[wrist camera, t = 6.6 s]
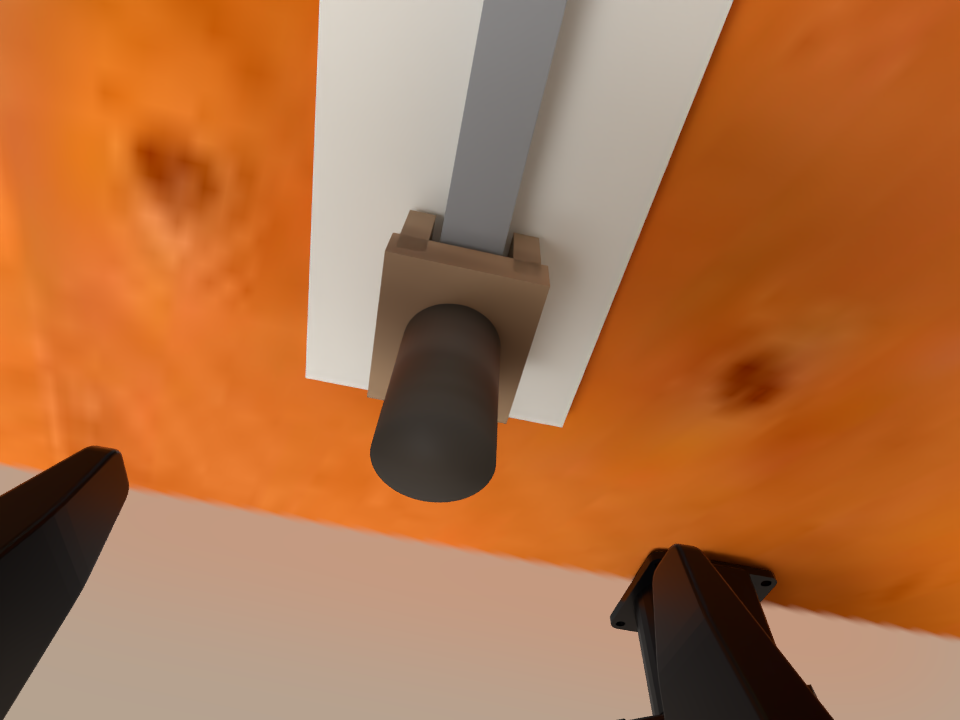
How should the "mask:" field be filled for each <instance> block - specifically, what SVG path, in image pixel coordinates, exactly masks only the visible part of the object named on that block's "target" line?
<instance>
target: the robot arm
mask: <svg viewBox="0 0 960 720" xmlns="http://www.w3.org/2000/svg"><path fill="white" fill-rule="evenodd" d="M128 490H129V482H128V478H127V474H126V470H125V466H124V462H123V457H122V454H121V453H120V452H119V451H118V450H117V449H112V448H107V447H101V446H89V447H86V448H84V449H82V450H80V451H79V452H77V453H75V454H73V455H72V456H70V457H68V458H66V459H64V460H63V461H61V462H59V463H57V464H56V465H54V466H52V467H50V468H49V469H47V470H45V471H43V472H41V473H40V474H38V475H36V476H35V477H33V478H31V479H29V480H27V481H26V482H24V483H22V484H20V485H18V486H17V487H15V488H13V489H12V490H10V491H8V492H6V493H5V494H3V495H1V496H0V720H3V719H4V717H5V716H6V714H7V712H8V711H9V709H10V708H11V706H12V704H13V703H14V701H15V700H16V698H17V696H18V695H19V693H20V691H21V690H22V688H23V687H24V685H25V683H26V681H27V680H28V678H29V677H30V675H31V673H32V672H33V670H34V668H35V667H36V665H37V663H38V662H39V660H40V659H41V657H42V656H43V654H44V652H45V651H46V649H47V647H48V646H49V644H50V643H51V641H52V639H53V637H54V636H55V634H56V633H57V631H58V629H59V628H60V626H61V625H62V623H63V621H64V620H65V618H66V616H67V615H68V613H69V612H70V610H71V608H72V606H73V605H74V603H75V601H76V600H77V598H78V596H79V595H80V593H81V591H82V590H83V588H84V586H85V584H86V582H87V580H88V578H89V576H90V574H91V572H92V569H93V567H94V565H95V563H96V561H97V559H98V557H99V555H100V552H101V551H102V548H103V546H104V544H105V542H106V540H107V538H108V536H109V533H110V532H111V530H112V527H113V525H114V523H115V521H116V519H117V517H118V515H119V513H120V511H121V508H122V506H123V504H124V502H125V500H126V498H127V495H128ZM776 584H777V580H776V578H775V576H774V573H773V572H771V571H768V570H763V569H757V568H751V567H746V566H740V565H735V564H729V563H723V562H718V561H712V560H708V558H707V557H706V556H705V555H704V553H703V552H702V551H701V550H700V549H699V548H697V547H694V546H689V545H683V544H674V545H672V546H671V547H670V548H669V550H668V551H667V552H660V551H658V552H653V553H651V554H650V555H649V556H648V557H647V559H646V561H645V562H644V564H643V565H642V567H641V568H640V570H639V572H638V573H637V575H636V576H635V578H634V579H633V581H632V583H631V584H630V586H629V587H628V589H627V590H626V592H625V594H624V595H623V597H622V598H621V600H620V602H619V603H618V604H617V606H616V608H615V609H614V611H613V613H612V614H611V616H610V620H611V625H612V627H614V628H617V629H623V630H629V631H635V632H638V635H639V641H640V646H641V652H642V657H643V663H644V669H645V675H646V680H647V686H648V692H649V697H650V703H651V708H652V714H653V716H649V717H643V718H638V719H633V720H834V719H833V718H832V717H831V715H830V714H829V713H828V712H827V710H826V709H825V708H824V706H823V705H822V704H821V703H820V701H819V700H818V698H817V696H816V694H815V692H814V690H813V688H812V686H811V685H806V683H805V682H804V681H803V680H802V678H801V677H800V676H799V675H798V673H797V672H796V671H795V669H794V668H793V667H792V666H791V664H790V663H789V662H788V660H787V659H786V658H785V657H784V655H783V654H782V653H781V652H780V650H779V649H778V648H777V646H776V644H775V642H774V639H773V636H772V633H771V631H770V628H769V625H768V623H767V620H766V617H765V615H764V612H763V609H762V606H761V604H760V602H761V601H762V600H763V599H764V598H765V597H766V595H767V594H768V593H769V592H770V591H771V590H772V589H773V588H774V587H775V585H776ZM619 720H625V719H619Z"/></svg>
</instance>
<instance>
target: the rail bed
mask: <svg viewBox="0 0 960 720" xmlns="http://www.w3.org/2000/svg"><path fill="white" fill-rule="evenodd" d="M732 2H733V0H320V4H319V31H318V58H317V85H316V112H315V139H314V165H313V192H312V219H311V246H310V273H309V300H308V327H307V353H306V378H309V379H314V380H319V381H324V382H330V383H335V384H340V385H345V386H350V387H356V388H361V389H366V390H368V386H369V377H370V369H371V361H372V353H373V344H374V336H375V328H376V320H377V311H378V303H379V295H380V287H381V278H382V270H383V262H384V254H385V250H386V247H387V245H388V243H389V240H390V238H391V236H392V233H398V234H400V233H401V231H402V228H403V226H404V223H405V221H406V218H407V216H408V213H409V211H410V210H414V211H418V212H423V213H428V214H432V215H436V219H435V225H434V231H433V237H432V241H435V242H440V243H444V244H449V245H454V246H458V247H463V248H467V249H472V250H477V251H481V252H486V253H491V254H495V255H500V256H504V257H507V256H508V252H509V249H510V245H511V241H512V237H513V233H518V234H523V235H528V236H532V237H537V238H539V242H540V255H541V265H546V266H548V269H549V279H550V289H549V292H548V295H547V298H546V301H545V304H544V307H543V311H542V314H541V317H540V320H539V323H538V326H537V329H536V332H535V336H534V339H533V342H532V345H531V348H530V351H529V354H528V357H527V360H526V364H525V367H524V370H523V373H522V376H521V379H520V382H519V385H518V389H517V392H516V395H515V398H514V401H513V404H512V407H511V410H510V413H509V417H511V418H516V419H521V420H526V421H531V422H537V423H542V424H547V425H552V426H557V427H562V426H563V424H564V421H565V419H566V416H567V414H568V411H569V409H570V406H571V404H572V401H573V399H574V396H575V394H576V391H577V389H578V386H579V384H580V381H581V379H582V376H583V374H584V371H585V369H586V366H587V364H588V362H589V359H590V357H591V354H592V352H593V349H594V347H595V344H596V342H597V339H598V337H599V334H600V332H601V329H602V327H603V324H604V322H605V319H606V317H607V314H608V312H609V309H610V307H611V304H612V302H613V299H614V297H615V294H616V292H617V289H618V287H619V284H620V282H621V279H622V277H623V274H624V272H625V269H626V267H627V264H628V262H629V259H630V257H631V254H632V252H633V249H634V247H635V244H636V242H637V239H638V237H639V234H640V232H641V229H642V227H643V224H644V222H645V219H646V217H647V214H648V212H649V209H650V207H651V204H652V202H653V199H654V197H655V194H656V192H657V189H658V187H659V184H660V182H661V179H662V177H663V174H664V172H665V170H666V167H667V165H668V162H669V160H670V157H671V155H672V152H673V150H674V147H675V145H676V142H677V140H678V137H679V135H680V132H681V130H682V127H683V125H684V122H685V120H686V117H687V115H688V112H689V110H690V107H691V105H692V102H693V100H694V97H695V95H696V92H697V90H698V87H699V85H700V82H701V80H702V77H703V75H704V72H705V70H706V67H707V65H708V62H709V60H710V57H711V55H712V52H713V50H714V47H715V45H716V42H717V40H718V37H719V35H720V32H721V30H722V27H723V25H724V22H725V20H726V17H727V15H728V12H729V10H730V7H731V5H732Z"/></svg>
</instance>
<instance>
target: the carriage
mask: <svg viewBox="0 0 960 720" xmlns="http://www.w3.org/2000/svg"><path fill="white" fill-rule="evenodd" d="M435 219H436V215H432V214H428V213H423V212H418V211H414V210H410V211H409V213H408V216H407V218H406V221H405V223H404V226H403V228H402V231H401V233H400V234H398V233H392V236H391V238H390V240H389V243H388V245H387V247H386V250H385V254H384V262H383V270H382V278H381V287H380V295H379V303H378V311H377V320H376V328H375V336H374V344H373V353H372V361H371V369H370V377H369V386H368V394H367V397H370V398H375V399H380V400H384V403H383V406H382V410H381V413H380V416H379V420H378V423H377V427H376V430H375V434H374V437H373V441H372V444H371V448H370V457H371V462H372V465H373V467H374V469H375V471H376V473H377V474H378V476H379V477H380V478H381V479H382V480H383V481H384V482H385V483H386V484H387V485H388V486H389V487H391V488H392V489H394V490H395V491H397V492H399V493H401V494H403V495H405V496H408V497H410V498H414V499H417V500H421V501H427V502H451V501H457V500H461V499H464V498H467V497H469V496H472V495H474V494H475V493H477V492H479V491H480V490H481V489H483V488H484V487H485V486H486V485H487V484H488V483H489V481H490V480H491V478H492V476H493V474H494V472H495V467H496V448H497V422H500V423H505V424H506V423H507V420H508V417H509V413H510V410H511V407H512V404H513V401H514V398H515V395H516V392H517V389H518V385H519V382H520V379H521V376H522V373H523V370H524V367H525V364H526V360H527V357H528V354H529V351H530V348H531V345H532V342H533V339H534V336H535V332H536V329H537V326H538V323H539V320H540V317H541V314H542V311H543V307H544V304H545V301H546V298H547V295H548V292H549V289H550V279H549V269H548V266H546V265H541V255H540V242H539V238H537V237H532V236H528V235H523V234H518V233H513V237H512V241H511V245H510V249H509V252H508V256H507V257H504V256H500V255H495V254H491V253H486V252H481V251H477V250H472V249H467V248H463V247H458V246H454V245H449V244H444V243H440V242H435V241H432V237H433V231H434V225H435Z"/></svg>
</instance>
